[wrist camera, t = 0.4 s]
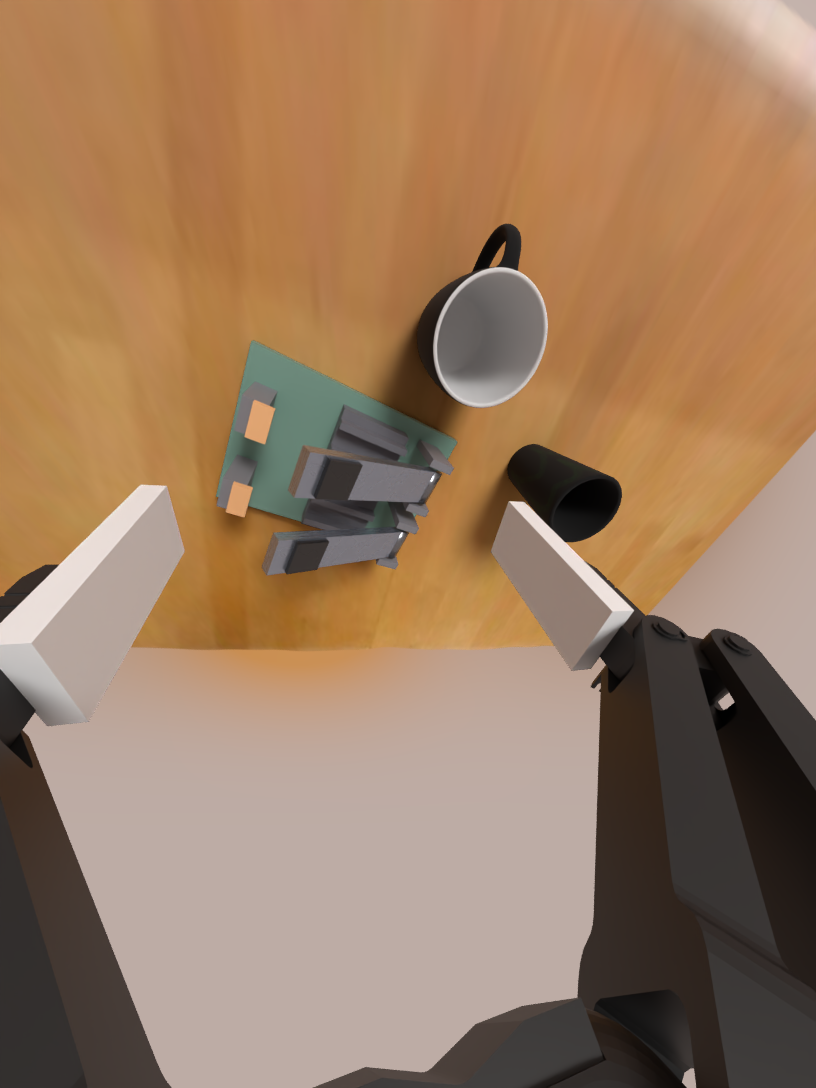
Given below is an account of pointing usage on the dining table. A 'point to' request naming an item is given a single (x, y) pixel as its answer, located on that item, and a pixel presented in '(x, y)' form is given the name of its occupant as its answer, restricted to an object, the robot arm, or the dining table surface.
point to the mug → (485, 328)
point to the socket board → (317, 445)
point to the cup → (565, 492)
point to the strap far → (329, 548)
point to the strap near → (359, 478)
